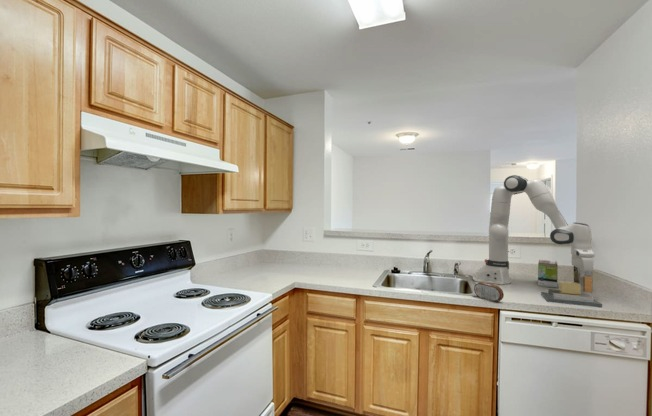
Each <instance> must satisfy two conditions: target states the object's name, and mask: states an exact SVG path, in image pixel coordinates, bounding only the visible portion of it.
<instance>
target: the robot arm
mask: <svg viewBox="0 0 652 416" xmlns="http://www.w3.org/2000/svg"><path fill="white" fill-rule="evenodd" d="M523 193H525V194H526V195H527V196H528V198H529V201H530V203H531V204H532V205H533V207H534V208H535V209H536V210H537V211H539V212H541V213H543V214H545V215H546V217H548V218H549V220H550V222H551V223H552V225H553V226H554V228H555V229H553V230H552V231H550V234H549V238H550V240H551V242H552V243H554V244H556V245H561V246H562V245H570V254H571V261H570V262H571V266H573V267H574V266H575V267H577V268H578V272H579V276H581V277H583V276H585V272H586V271H592V270H593V269H594V258H595V256H596V255H595V252H594V251H593V246H592V229H591V227H590V225H589V224H587V223H583V222H572V223H571V224H568V223H567V221H566V220H565V217H564V216H563V214H562V213H561V211H560V210H559V207H558V205H557V204H556V201H555V199H554V196H553V195H552V192H551V191H550V190H549V187H548V186H547V185H546V184H545V182H544V181H543V180H542V179H539V178H534V179H533V178H532V179H531V180H528V179H527V178H526V177H524V176H521V175H517V174H514V175H513V174H512V175H508V176H507V177H506V178H505V179H504V181H503V185H499V186H497V187H495V188H494V190H493V193H492V197H491V204H490V215H489V216H490V217H489V225H488V258H487V259H486V258H485V259H484V263H485V265H484V266H482V267H480V268H478V270H477V271H476V274H475V275H476V276H475V275H474V276H473V277H472V280H473V281H474V282H477V283H479V282H484V283H488V284H493V285H504V284H505V285H507V284H511V283H512V282H511V278H510V273H509V271H510V263H509V229H508V227H509V221H510V213H511V202H512V201H511V200H512V197H513V195H518V194H519V195H520V194H523Z"/></svg>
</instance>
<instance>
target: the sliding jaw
mask: <svg viewBox="0 0 652 416" xmlns="http://www.w3.org/2000/svg"><path fill="white" fill-rule="evenodd" d="M546 293H559V288H554V287H547V288H546ZM581 296H592V297H593V292H592V277H587V276H583V291H581Z"/></svg>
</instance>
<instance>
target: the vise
mask: <svg viewBox="0 0 652 416" xmlns="http://www.w3.org/2000/svg"><path fill="white" fill-rule="evenodd" d="M540 295H541V296H542V297H543V298H544V300H546V302H548V303H558V304H568V305H577V306H585V307H586V306H587V307H594V308H595V307H597V308H603V304H602V303H601V302H600V301H598V300H596V298H594V297H593V295H592V296H581V295H570V294H559V293H548V292H547V291H541V292H540Z"/></svg>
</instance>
